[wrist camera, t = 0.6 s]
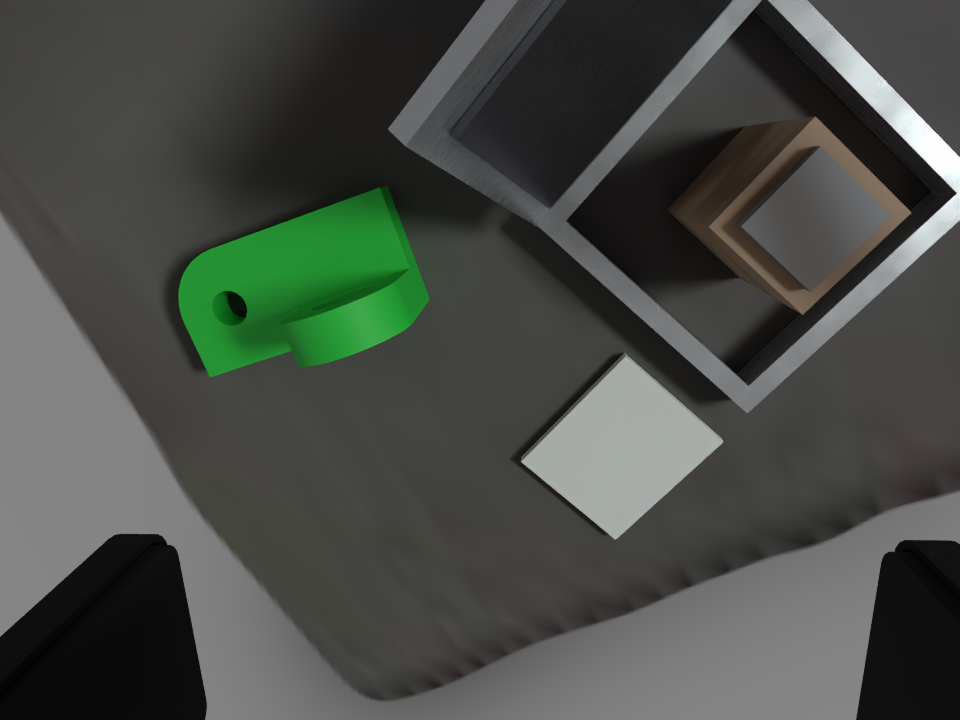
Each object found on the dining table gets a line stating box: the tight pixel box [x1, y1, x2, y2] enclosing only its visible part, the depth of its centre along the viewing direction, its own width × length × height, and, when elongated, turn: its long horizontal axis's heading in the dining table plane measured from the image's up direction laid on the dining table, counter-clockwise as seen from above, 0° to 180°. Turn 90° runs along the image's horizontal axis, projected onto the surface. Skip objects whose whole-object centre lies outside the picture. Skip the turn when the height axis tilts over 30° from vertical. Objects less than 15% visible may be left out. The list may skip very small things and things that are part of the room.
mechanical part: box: [179, 186, 430, 377], centre depth 31 cm, size 12×6×8 cm, turn 109°
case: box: [388, 0, 960, 413], centre depth 25 cm, size 15×20×14 cm
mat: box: [521, 353, 723, 540], centre depth 35 cm, size 8×7×1 cm
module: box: [667, 116, 912, 315], centre depth 28 cm, size 5×5×9 cm
